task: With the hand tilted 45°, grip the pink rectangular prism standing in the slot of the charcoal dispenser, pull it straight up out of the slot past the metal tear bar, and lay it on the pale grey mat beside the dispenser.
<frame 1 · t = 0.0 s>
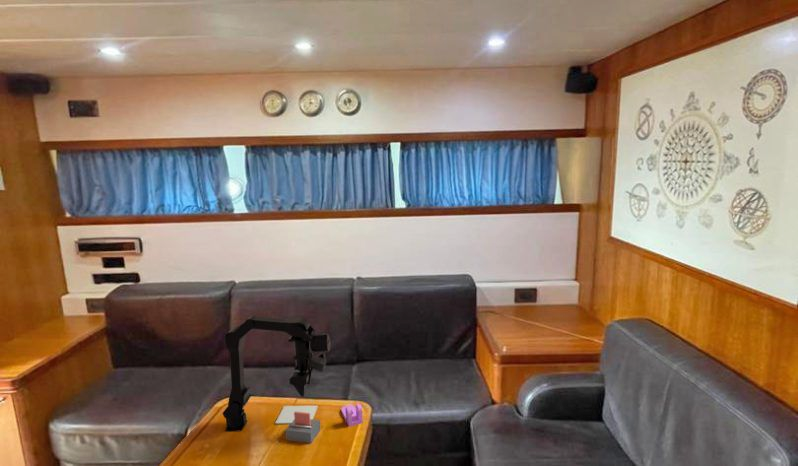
hand: (305, 390, 170), 15 cm above the table, tool pointing down, fingers open, 9 cm apart
pink rectangular prism: (303, 435, 166), resting in dispenser
mat: (297, 415, 179), on the table
dispenser: (303, 434, 166), on the table
bracket: (351, 417, 177), on the table
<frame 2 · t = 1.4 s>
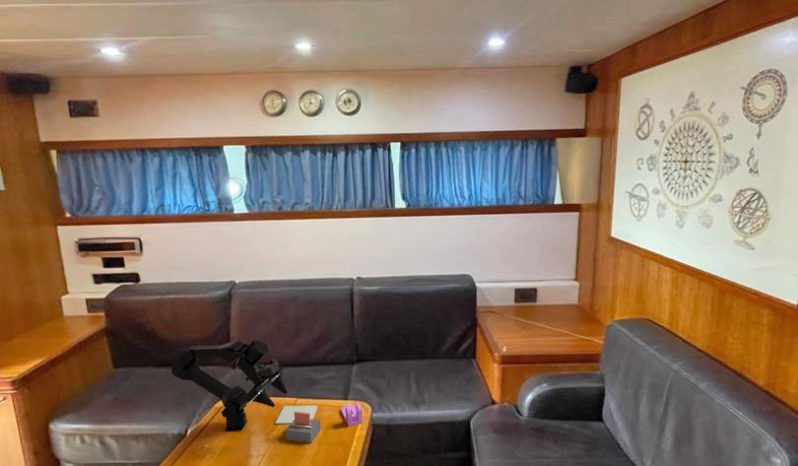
hand: (280, 399, 166), 13 cm above the table, tool tilted 45°, fingers open, 9 cm apart
nothing on the table moved.
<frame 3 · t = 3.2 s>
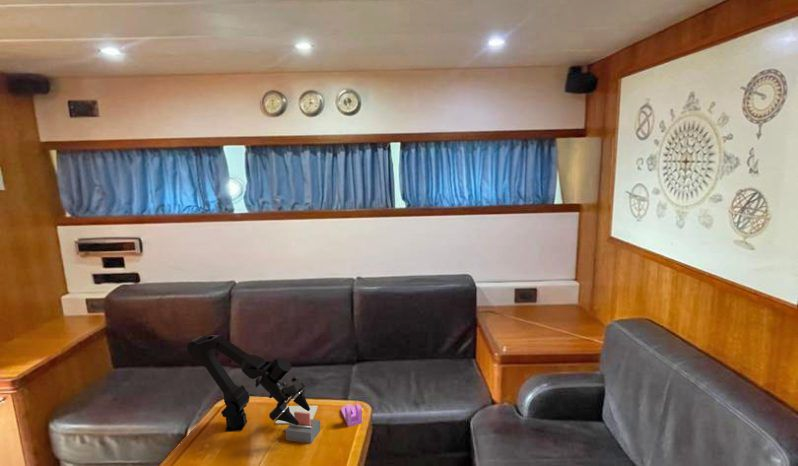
hand: (303, 417, 165), 7 cm above the table, tool tilted 45°, fingers open, 9 cm apart
nothing on the table moved.
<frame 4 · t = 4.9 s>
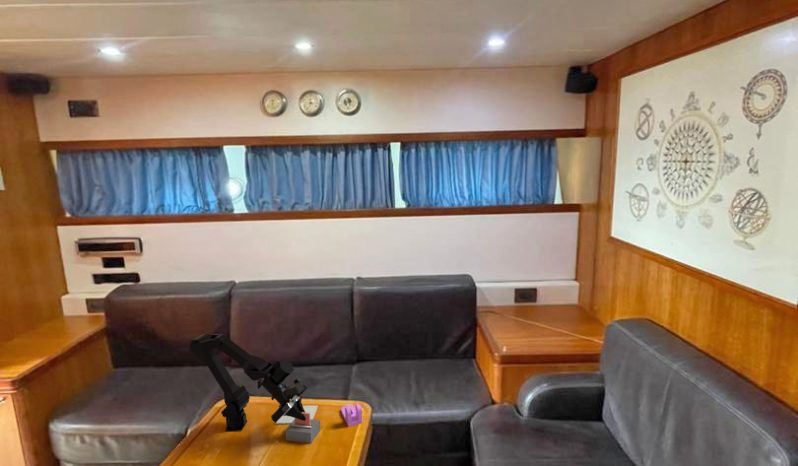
hand: (305, 419, 165), 7 cm above the table, tool tilted 45°, fingers closed on pink rectangular prism, 1 cm apart
pink rectangular prism: (303, 434, 166), resting in dispenser, touching gripper
everything else where it was.
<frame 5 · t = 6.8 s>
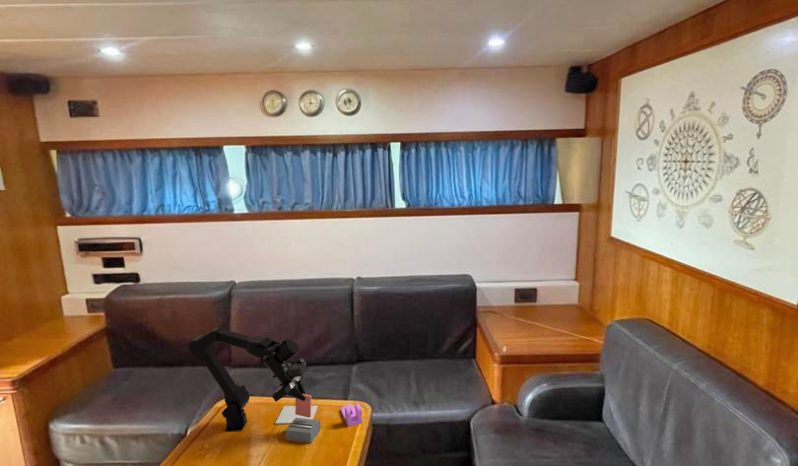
hand: (305, 399, 166), 13 cm above the table, tool tilted 35°, fingers closed on pink rectangular prism, 1 cm apart
pink rectangular prism: (303, 415, 168), point 6 cm above the table, tilted 8°, touching gripper
everything else where it was.
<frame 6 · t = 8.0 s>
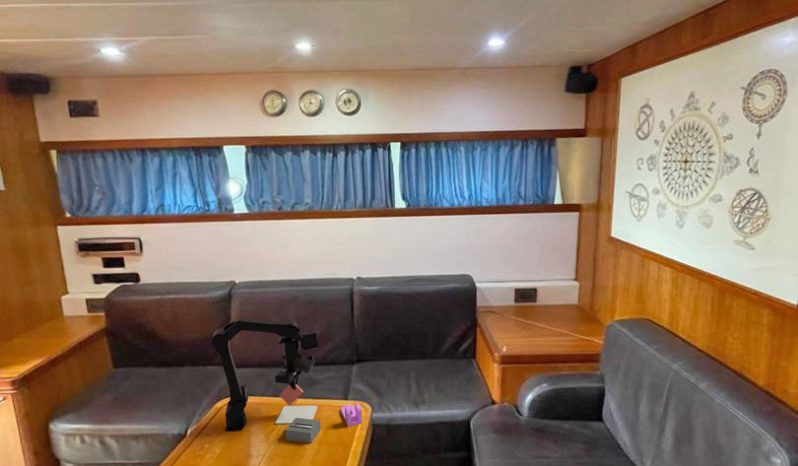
hand: (294, 388, 177), 11 cm above the table, tool pointing down, fingers closed on pink rectangular prism, 1 cm apart
pink rectangular prism: (284, 400, 179), point 6 cm above the table, tilted 44°, touching gripper
everything else where it was.
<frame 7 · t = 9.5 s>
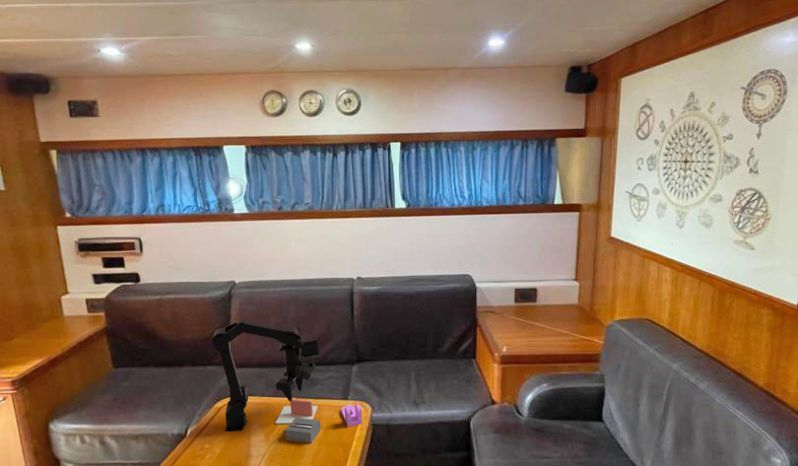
hand: (295, 395, 178), 8 cm above the table, tool pointing down, fingers open, 8 cm apart
pink rectangular prism: (291, 406, 179), point 4 cm above the table, tilted 90°, touching mat
everything else where it was.
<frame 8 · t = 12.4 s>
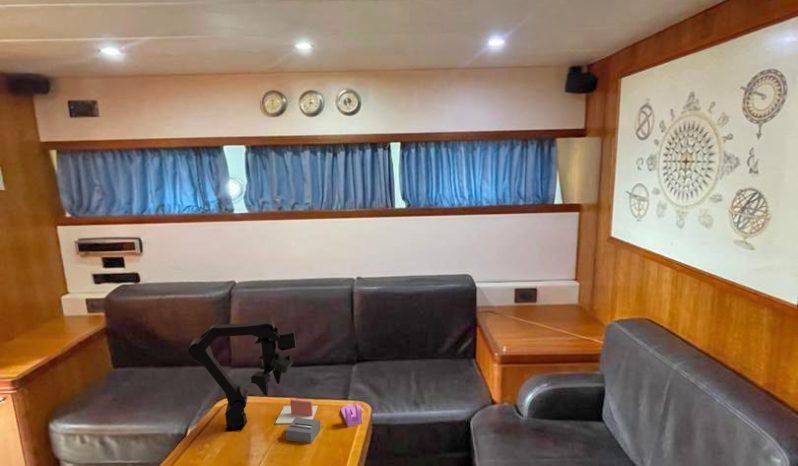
hand: (272, 389, 174), 13 cm above the table, tool pointing down, fingers open, 9 cm apart
nothing on the table moved.
at the end: pink rectangular prism inside the target area on the mat (2.3 cm from its centre), point 3.6 cm above the mat's base; pink rectangular prism moved 16.2 cm from its start; the gripper is holding nothing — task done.
